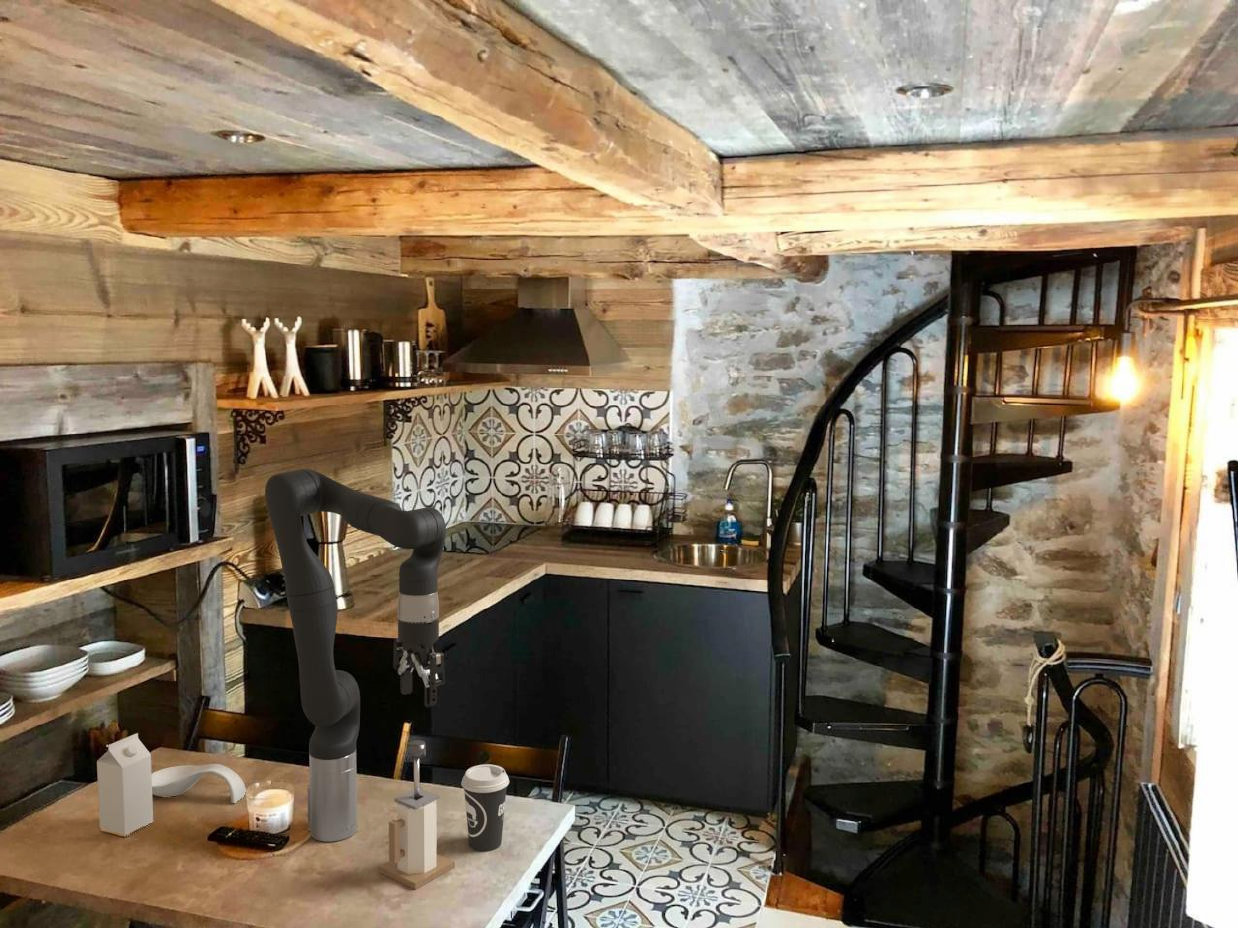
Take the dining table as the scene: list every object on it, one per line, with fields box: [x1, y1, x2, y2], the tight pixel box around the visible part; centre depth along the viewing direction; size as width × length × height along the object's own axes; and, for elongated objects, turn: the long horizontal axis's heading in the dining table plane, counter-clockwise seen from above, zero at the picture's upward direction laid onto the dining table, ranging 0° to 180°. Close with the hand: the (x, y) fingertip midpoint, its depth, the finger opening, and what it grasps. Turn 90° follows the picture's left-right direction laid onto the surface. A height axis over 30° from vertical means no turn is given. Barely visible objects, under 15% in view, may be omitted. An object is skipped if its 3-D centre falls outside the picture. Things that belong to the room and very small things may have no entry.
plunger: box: [406, 739, 427, 800], centre depth 187 cm, size 5×5×14 cm
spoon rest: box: [151, 763, 247, 804], centre depth 220 cm, size 24×12×7 cm, turn 78°
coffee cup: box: [460, 763, 510, 852], centre depth 199 cm, size 10×10×15 cm
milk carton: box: [96, 732, 154, 835], centre depth 204 cm, size 7×7×19 cm
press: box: [379, 787, 456, 890], centre depth 188 cm, size 10×11×15 cm
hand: (418, 699), depth 186 cm, fingers open, 8 cm apart
